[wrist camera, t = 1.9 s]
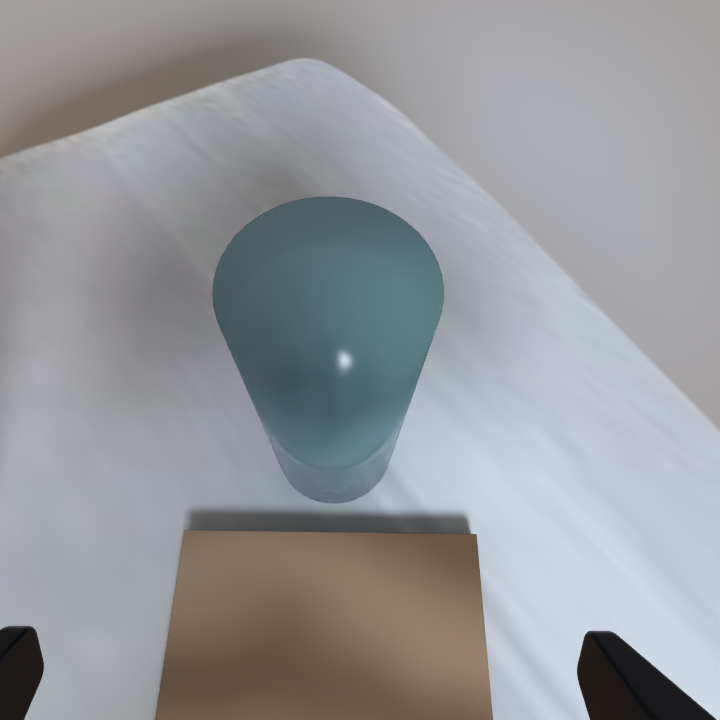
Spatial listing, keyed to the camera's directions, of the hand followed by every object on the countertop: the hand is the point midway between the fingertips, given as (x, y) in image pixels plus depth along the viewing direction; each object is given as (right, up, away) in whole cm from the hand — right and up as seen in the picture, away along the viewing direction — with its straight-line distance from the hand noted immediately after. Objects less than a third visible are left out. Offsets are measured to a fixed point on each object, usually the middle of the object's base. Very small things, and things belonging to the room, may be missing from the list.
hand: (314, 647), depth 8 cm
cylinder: (0, +1, +15) cm, 15 cm away
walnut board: (0, -8, +10) cm, 13 cm away
